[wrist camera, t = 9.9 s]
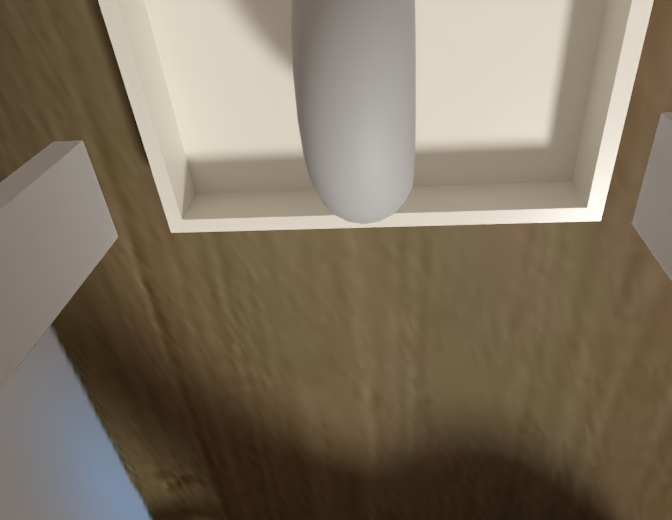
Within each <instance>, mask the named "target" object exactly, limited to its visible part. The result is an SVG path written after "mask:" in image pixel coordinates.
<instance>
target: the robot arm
mask: <svg viewBox="0 0 672 520" xmlns="http://www.w3.org/2000/svg"><path fill="white" fill-rule="evenodd" d="M632 225H633V226H634V228H635V229H636V231H637V232H638V234H639V235H640V236H641V238H642V239H643V241H644V242H645V244H646V245H647V246H648V248H649V249H650V251H651V252H652V254H653V255H654V256H655V258H656V259H657V261H658V262H659V264H660V265H661V266H662V268H663V269H664V271H665V272H666V274H667V275H668V276H669V278H670V279H671V281H672V112H668V113H661V116H660V120H659V123H658V127H657V131H656V135H655V139H654V142H653V146H652V150H651V154H650V157H649V161H648V165H647V169H646V172H645V176H644V180H643V184H642V187H641V191H640V195H639V199H638V202H637V206H636V210H635V214H634V218H633V221H632ZM117 238H118V235H117V232H116V229H115V227H114V224H113V221H112V218H111V216H110V213H109V210H108V208H107V205H106V202H105V199H104V197H103V194H102V191H101V189H100V186H99V183H98V180H97V178H96V175H95V172H94V169H93V167H92V164H91V161H90V159H89V156H88V153H87V150H86V148H85V145H84V142H83V140H82V141H61V142H52V143H51V144H50V145H49V146H47V147H46V148H45V149H43V150H42V151H41V152H39V153H38V154H37V155H36V156H34V157H33V158H32V159H30V160H29V161H28V162H26V163H25V164H24V165H22V166H21V167H20V168H19V169H17V170H16V171H15V172H13V173H12V174H11V175H9V176H8V177H7V178H6V179H4V180H3V181H2V182H0V390H1V388H2V387H3V386H4V385H5V383H6V382H7V381H8V379H9V378H10V377H11V375H12V374H13V373H14V372H15V370H16V369H17V368H18V367H19V365H20V364H21V363H22V361H23V360H24V359H25V357H26V356H27V355H28V354H29V352H30V351H31V350H32V348H33V347H34V346H35V344H36V343H37V342H38V341H39V339H40V338H41V337H42V335H43V334H44V333H45V331H46V330H47V329H48V328H49V326H50V325H51V324H52V322H53V321H54V320H55V318H56V317H57V316H58V315H59V313H60V312H61V311H62V309H63V308H64V307H65V305H66V304H67V303H68V302H69V300H70V299H71V298H72V296H73V295H74V294H75V293H76V291H77V290H78V289H79V287H80V286H81V285H82V283H83V282H84V281H85V280H86V278H87V277H88V276H89V274H90V273H91V272H92V270H93V269H94V268H95V267H96V265H97V264H98V263H99V261H100V260H101V259H102V257H103V256H104V255H105V254H106V252H107V251H108V250H109V248H110V247H111V246H112V244H113V243H114V242H115V241H116V239H117Z"/></svg>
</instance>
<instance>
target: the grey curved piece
mask: <svg viewBox="0 0 672 520" xmlns="http://www.w3.org/2000/svg"><path fill="white" fill-rule="evenodd" d="M291 32H292V57H293V78H294V88H295V98H296V108H297V119H298V125H299V131H300V137H301V143H302V149H303V155H304V159H305V163H306V166H307V170H308V173H309V177H310V180H311V182H312V184H313V186H314V188H315V190H316V192H317V194H318V196H319V197H320V199H321V201H322V202H323V204H324V205H325V206H326V207H327V208H328V209H329V210H330V211H331V212H332V213H333V214H334V215H336V216H338V217H340V218H342V219H344V220H346V221H348V222H353V223H360V224H368V223H373V222H379V221H381V220H383V219H385V218H387V217H389V216H391V215H393V214H394V213H395V212H396V211H397V210H398V209H399V208H400V207H401V206H402V205H403V204H404V203H405V201H406V199H407V197H408V195H409V193H410V191H411V189H412V186H413V179H414V173H415V130H416V30H415V0H292V18H291Z"/></svg>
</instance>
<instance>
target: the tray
mask: <svg viewBox="0 0 672 520" xmlns="http://www.w3.org/2000/svg"><path fill="white" fill-rule="evenodd" d="M653 1H654V0H415V30H416V130H415V173H414V179H413V186H412V189H411V191H410V193H409V195H408V197H407V199H406V201H405V203H404V204H403V205H402V206H401V207H400V208H399V209H398V210H397V211H396V212H395V213H394V214H393V215H391V216H389V217H387V218H385V219H383V220H381V221H379V222H373V223H368V224H360V223H353V222H348V221H346V220H344V219H342V218H340V217H338V216H336V215H334V214H333V213H332V212H331V211H330V210H329V209H328V208H327V207H326V206H325V205H324V204H323V202H322V201H321V199H320V197H319V196H318V194H317V192H316V190H315V188H314V186H313V184H312V182H311V180H310V177H309V173H308V170H307V166H306V163H305V159H304V155H303V149H302V143H301V137H300V131H299V125H298V119H297V108H296V98H295V88H294V78H293V57H292V32H291V18H292V0H98V2H99V5H100V8H101V12H102V15H103V18H104V21H105V24H106V27H107V31H108V34H109V37H110V40H111V43H112V46H113V50H114V53H115V56H116V59H117V62H118V66H119V69H120V72H121V75H122V78H123V81H124V85H125V88H126V91H127V94H128V97H129V101H130V104H131V107H132V110H133V113H134V116H135V120H136V123H137V126H138V129H139V132H140V136H141V139H142V142H143V145H144V148H145V151H146V155H147V158H148V161H149V164H150V167H151V170H152V174H153V177H154V180H155V183H156V186H157V190H158V193H159V196H160V199H161V202H162V205H163V209H164V212H165V215H166V218H167V221H168V225H169V228H170V231H171V233H181V232H218V231H254V230H291V229H328V228H364V227H401V226H437V225H474V224H511V223H547V222H584V221H601V219H602V214H603V210H604V206H605V202H606V198H607V193H608V189H609V185H610V181H611V177H612V173H613V168H614V164H615V160H616V156H617V152H618V147H619V143H620V139H621V135H622V131H623V126H624V122H625V118H626V114H627V110H628V106H629V101H630V97H631V93H632V89H633V85H634V80H635V76H636V72H637V68H638V64H639V60H640V55H641V51H642V47H643V43H644V39H645V34H646V30H647V26H648V22H649V18H650V13H651V9H652V5H653Z"/></svg>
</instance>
